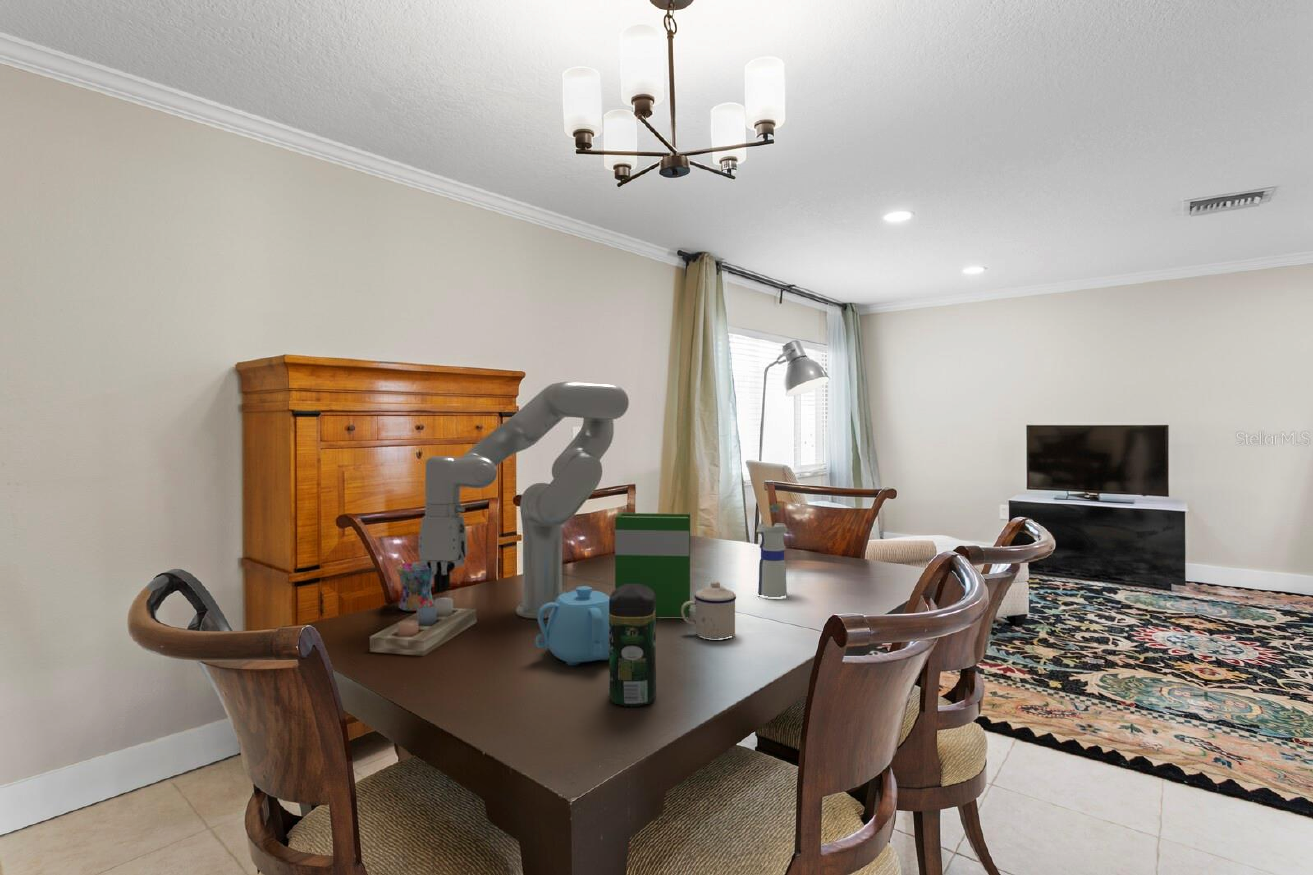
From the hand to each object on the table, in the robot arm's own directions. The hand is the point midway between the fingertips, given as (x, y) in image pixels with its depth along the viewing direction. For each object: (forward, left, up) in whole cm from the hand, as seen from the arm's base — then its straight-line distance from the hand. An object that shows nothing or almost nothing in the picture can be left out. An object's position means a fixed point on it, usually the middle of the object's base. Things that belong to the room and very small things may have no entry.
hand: (441, 590), depth 144 cm
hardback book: (-45, -19, -8) cm, 50 cm away
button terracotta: (0, +14, -7) cm, 15 cm away
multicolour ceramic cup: (+14, -13, -8) cm, 21 cm away
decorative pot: (-37, +11, -8) cm, 40 cm away
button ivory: (0, 0, -6) cm, 6 cm away
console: (0, +7, -8) cm, 11 cm away
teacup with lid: (-60, -6, -8) cm, 61 cm away
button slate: (0, +7, -6) cm, 9 cm away
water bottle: (-73, -41, -8) cm, 85 cm away
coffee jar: (-51, +28, -8) cm, 59 cm away
